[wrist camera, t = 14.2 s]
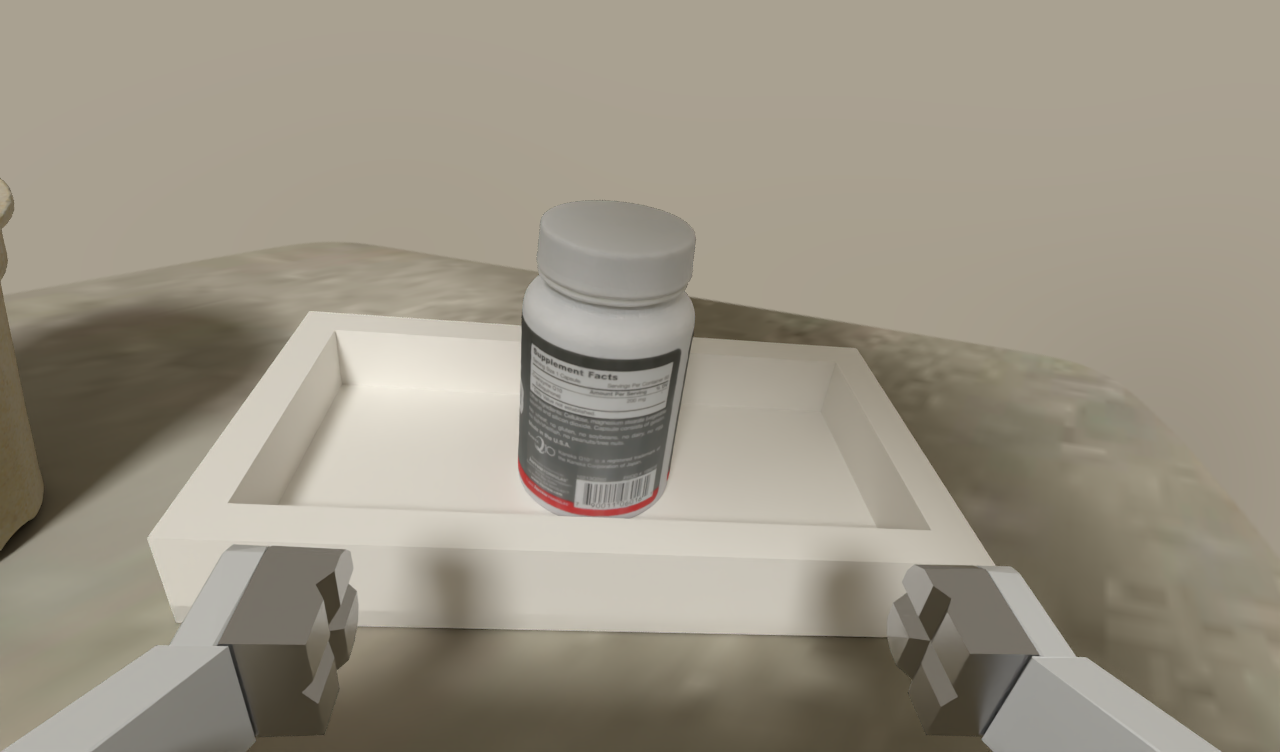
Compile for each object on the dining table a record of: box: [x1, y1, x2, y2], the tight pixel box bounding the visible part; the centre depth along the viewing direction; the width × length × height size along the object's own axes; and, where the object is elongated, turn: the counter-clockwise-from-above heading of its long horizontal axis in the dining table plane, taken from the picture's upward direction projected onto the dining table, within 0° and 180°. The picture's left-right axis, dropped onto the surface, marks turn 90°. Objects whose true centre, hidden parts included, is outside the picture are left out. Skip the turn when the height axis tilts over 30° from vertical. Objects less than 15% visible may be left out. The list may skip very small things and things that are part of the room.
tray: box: [147, 311, 995, 637], centre depth 22 cm, size 20×11×3 cm, turn 94°
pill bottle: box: [518, 200, 696, 519], centre depth 20 cm, size 5×5×8 cm
